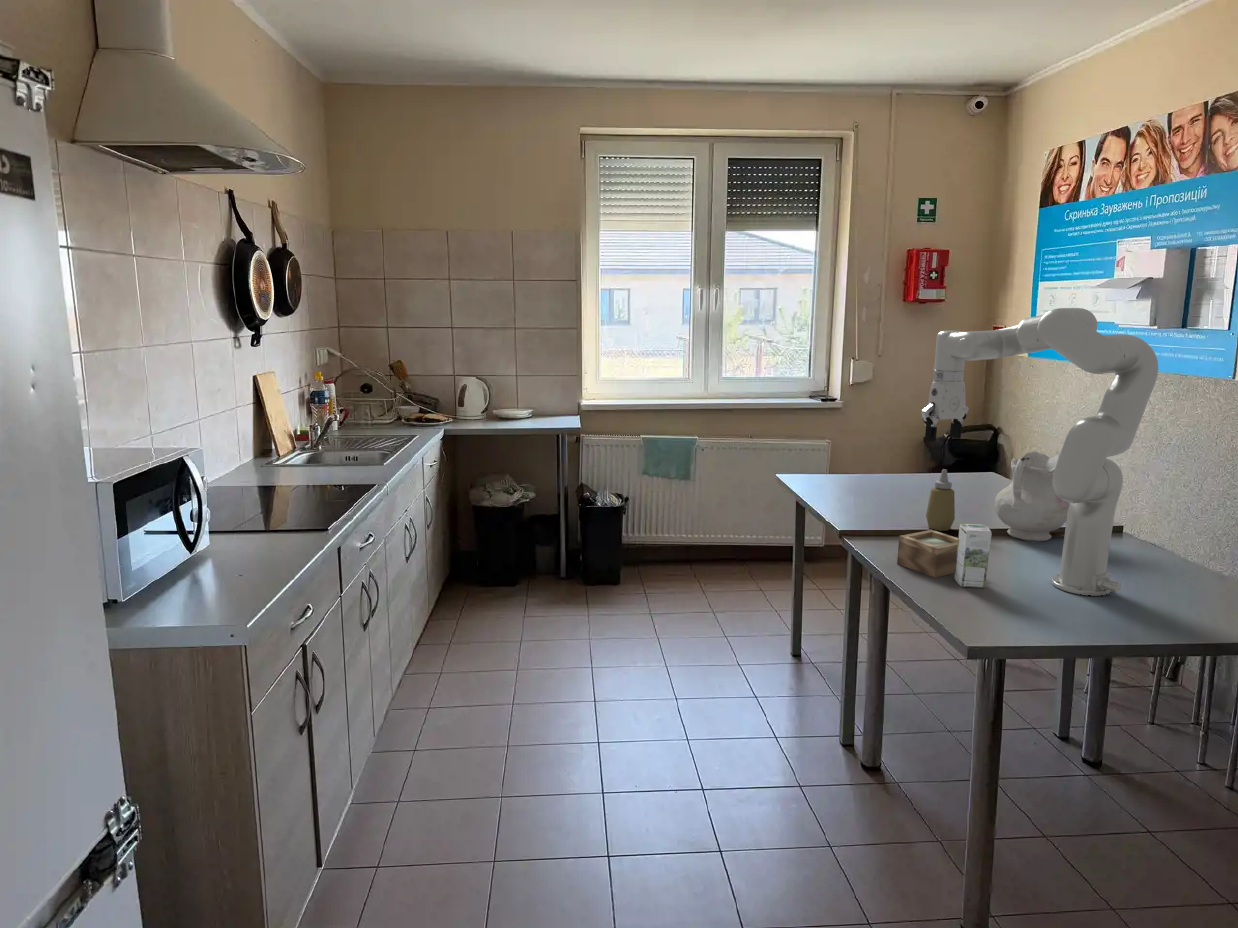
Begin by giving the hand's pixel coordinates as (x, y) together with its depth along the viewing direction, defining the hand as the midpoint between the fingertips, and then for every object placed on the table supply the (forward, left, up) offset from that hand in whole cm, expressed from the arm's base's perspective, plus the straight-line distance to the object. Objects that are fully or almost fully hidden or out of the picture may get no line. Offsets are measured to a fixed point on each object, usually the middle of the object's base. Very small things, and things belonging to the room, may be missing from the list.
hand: (942, 439), depth 225 cm
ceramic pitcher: (-8, -30, -30) cm, 43 cm away
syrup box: (-27, +19, -30) cm, 45 cm away
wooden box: (-14, +17, -30) cm, 37 cm away
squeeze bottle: (+9, -13, -30) cm, 33 cm away
